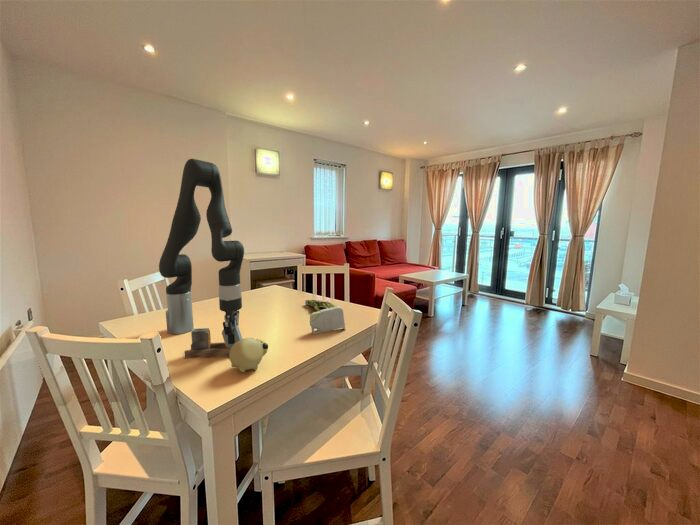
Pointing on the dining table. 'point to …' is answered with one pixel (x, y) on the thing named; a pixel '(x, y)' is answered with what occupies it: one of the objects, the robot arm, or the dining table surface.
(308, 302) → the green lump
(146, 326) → the dining table surface
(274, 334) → the dining table surface
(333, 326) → the grey rectangular slab
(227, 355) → the rail
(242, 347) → the toy pig
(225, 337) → the grey rectangular block
